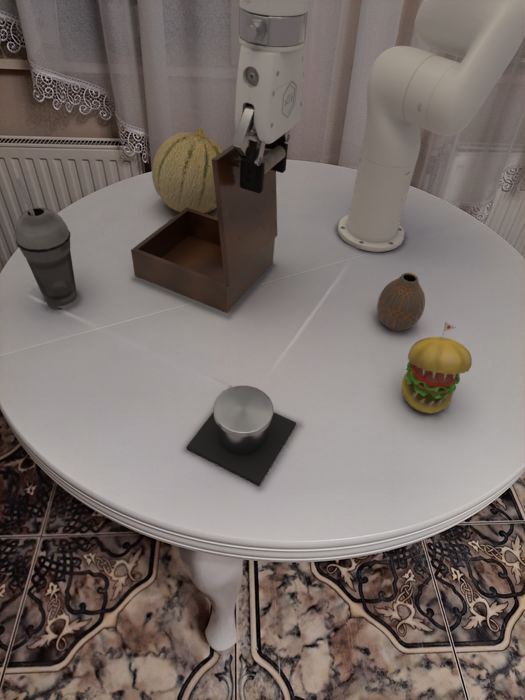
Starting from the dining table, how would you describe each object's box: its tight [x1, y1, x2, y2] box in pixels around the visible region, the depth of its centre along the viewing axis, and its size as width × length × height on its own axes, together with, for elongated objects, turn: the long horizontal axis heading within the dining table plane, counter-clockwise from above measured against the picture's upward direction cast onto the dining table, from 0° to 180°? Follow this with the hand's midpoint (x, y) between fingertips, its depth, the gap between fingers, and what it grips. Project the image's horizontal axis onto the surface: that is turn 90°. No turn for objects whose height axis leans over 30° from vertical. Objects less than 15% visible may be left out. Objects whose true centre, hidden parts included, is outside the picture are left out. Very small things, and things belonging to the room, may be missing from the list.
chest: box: [130, 208, 276, 314], centre depth 84 cm, size 18×16×6 cm
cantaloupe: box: [151, 127, 225, 214], centre depth 95 cm, size 15×15×15 cm
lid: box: [212, 130, 286, 285], centre depth 72 cm, size 18×16×5 cm
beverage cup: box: [14, 177, 77, 311], centre depth 72 cm, size 7×7×20 cm
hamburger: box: [401, 321, 473, 414], centre depth 65 cm, size 8×7×12 cm
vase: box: [376, 272, 426, 331], centre depth 77 cm, size 7×7×9 cm
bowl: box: [212, 385, 274, 455], centre depth 61 cm, size 7×7×5 cm
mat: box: [186, 411, 297, 487], centre depth 63 cm, size 10×10×1 cm
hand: (263, 178), depth 69 cm, fingers closed on lid, 6 cm apart
